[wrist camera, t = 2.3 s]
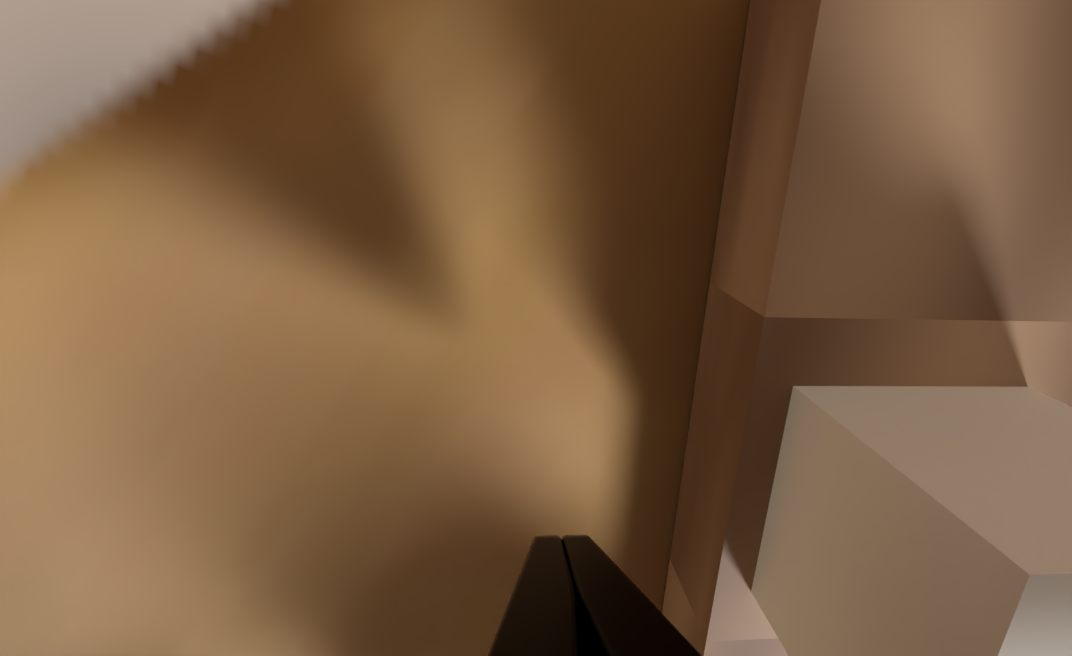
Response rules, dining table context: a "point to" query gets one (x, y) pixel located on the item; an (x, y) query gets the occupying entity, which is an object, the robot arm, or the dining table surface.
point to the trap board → (870, 248)
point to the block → (920, 523)
